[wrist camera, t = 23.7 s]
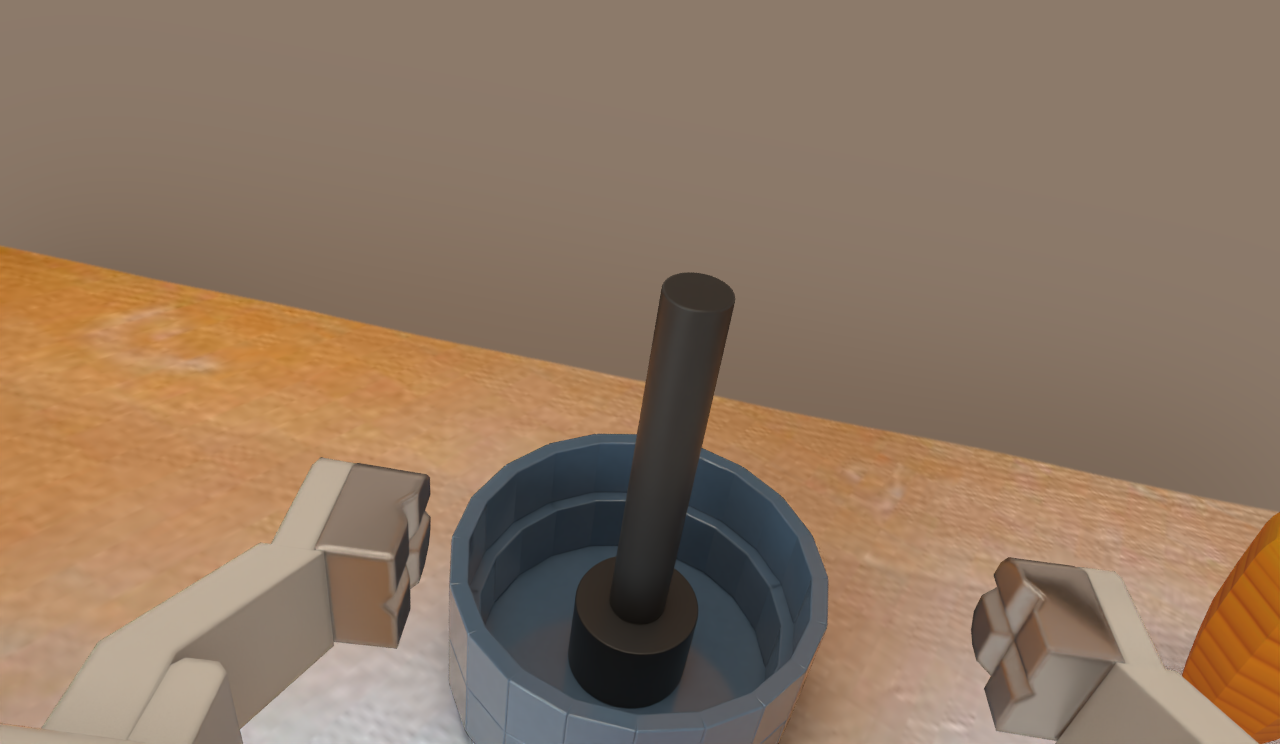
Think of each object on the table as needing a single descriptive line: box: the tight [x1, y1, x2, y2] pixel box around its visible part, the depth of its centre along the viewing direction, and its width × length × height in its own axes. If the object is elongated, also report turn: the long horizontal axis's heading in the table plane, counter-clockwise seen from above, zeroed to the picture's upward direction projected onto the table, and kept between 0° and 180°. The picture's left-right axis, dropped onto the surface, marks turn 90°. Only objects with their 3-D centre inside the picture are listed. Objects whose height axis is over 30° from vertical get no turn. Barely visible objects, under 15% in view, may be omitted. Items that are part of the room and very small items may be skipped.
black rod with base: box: [568, 273, 735, 708], centre depth 29 cm, size 4×4×16 cm
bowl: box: [449, 434, 828, 744], centre depth 33 cm, size 13×13×6 cm
